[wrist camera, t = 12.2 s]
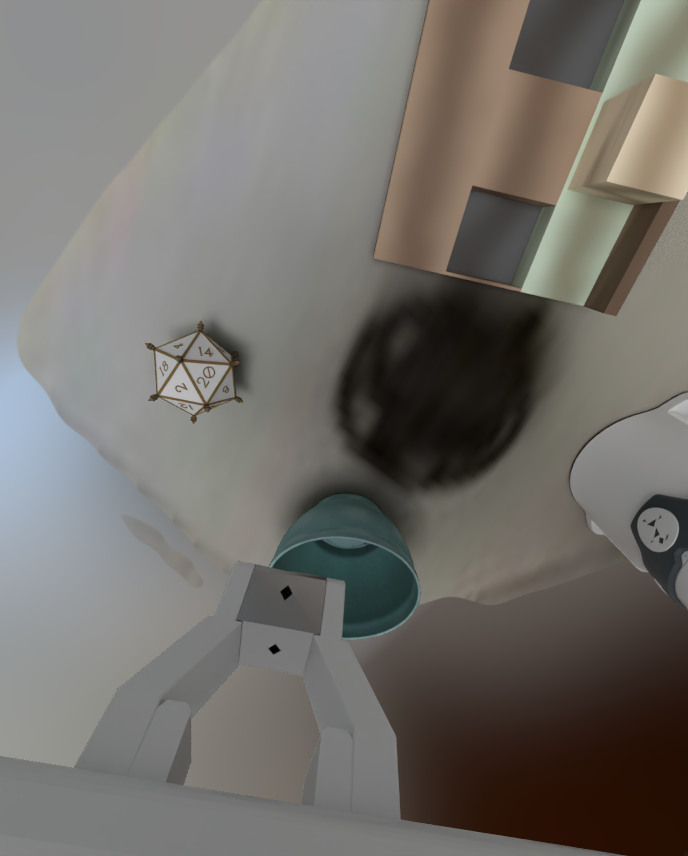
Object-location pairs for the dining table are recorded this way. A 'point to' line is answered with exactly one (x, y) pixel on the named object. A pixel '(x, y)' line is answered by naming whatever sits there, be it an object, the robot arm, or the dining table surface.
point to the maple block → (638, 145)
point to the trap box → (525, 145)
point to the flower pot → (355, 562)
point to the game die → (194, 373)
